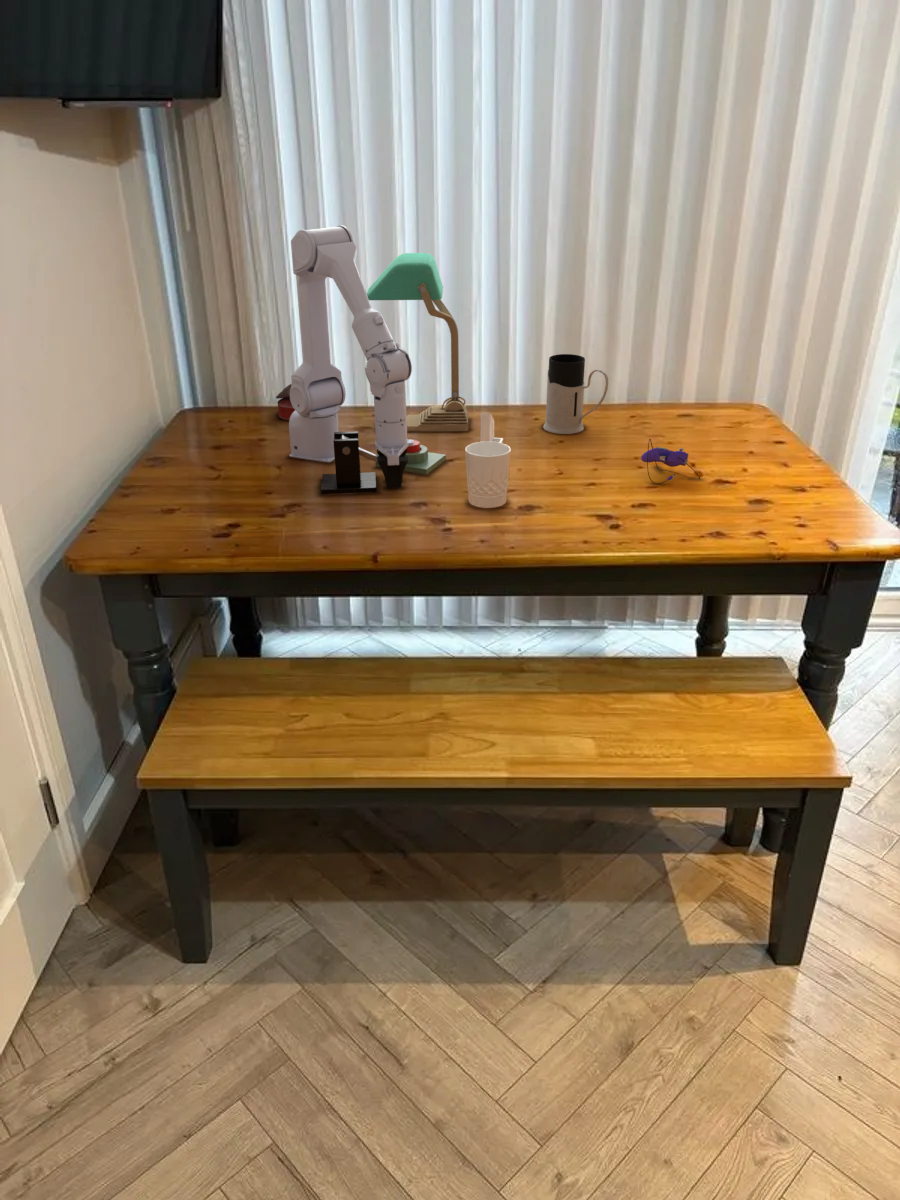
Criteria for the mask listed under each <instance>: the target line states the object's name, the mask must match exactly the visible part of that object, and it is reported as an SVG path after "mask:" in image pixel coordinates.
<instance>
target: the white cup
mask: <svg viewBox="0 0 900 1200" xmlns="http://www.w3.org/2000/svg"><path fill="white" fill-rule="evenodd" d="M511 449H512V447H510V446H509V445H508V444H506V443H504V442H503V443H499V442H491V441H484V442H480V441H476V442H472V443H470V444H468V445H466V446H465V448H464V450H465V451H464V452H465V454H464V455H465V472H466V474H465V475H466V486H467V497H468V498H467V500H468V503H469V504H470V505H471V506H474V507H477V508H483V509H489V508H490V509H492V508H497V507H502V506H504V505H505V504H506V503H507V496H508V495H507V493H508V489H509V481H510V465H511V453H512V450H511Z"/></svg>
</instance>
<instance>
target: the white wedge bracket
mask: <svg viewBox="0 0 900 1200" xmlns="http://www.w3.org/2000/svg"><path fill="white" fill-rule="evenodd" d="M479 422H480V427H479V428H480V429H479V430H480V431H479V433H480V437H479V440H480V441H479V442H484V441H491V442H499V443H503V444H504V438H503V437H495V419H494V417H493V415H492V414H491V412H488V411H487V412H486V411H481V412H480V421H479Z"/></svg>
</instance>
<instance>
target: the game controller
mask: <svg viewBox="0 0 900 1200" xmlns="http://www.w3.org/2000/svg"><path fill="white" fill-rule="evenodd" d="M650 445H651V449H649V448H650ZM647 446H648V447H647V451H645V452H643V453H642V455H641V456H640V460H641V461H642V463H646V468H647V470H649V463H655V466H656V468H657V469H658V470H659V471H664V472H670V473H675V474H678V475H679V476H680V475H681V476H683V477H686V478H690V479H692V480H693V479H694V480H695V478H694V477H690V476H687V475H684V474H681V473H678V472H675V471H671V470H667V469H660V468H659V467H658V464H657V463H662V464H664V465H666V466H667V467H670V468H674V467H678V466H683V467H685V466H686V465H687V466H688V467H689V468H690V469H691V470H692V471H693V472H694V473H695V474H696V475H697V476H698V480H700V479H701V478H700V475H699V474H698V473H697V471H696V470H694V468H693V467H692V466H690V465H689V464H688V462H689V460H688V458H689V453H688V452H686V451H684V450H685V449H684V448H683V447H679V448H678V450H676V451H674V450H670V449H669V448H666V447H660V446H659V447H658V446H656V447H653V444H652V439H651V438H649V439H648V443H647ZM675 474H673V475H670V476H669V477H667V479H666V480H664V481H662V482H658V483H656V482H654V481H653V480H652V479H651V477H650V472H649V471H647V475H648V478H649V480H650V482H652V483H653V484H655V485H660V484H664V483H666V482H670V481H672V480H673V479H674V478H675V477H676V475H675Z"/></svg>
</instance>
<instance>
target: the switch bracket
mask: <svg viewBox="0 0 900 1200" xmlns="http://www.w3.org/2000/svg"><path fill="white" fill-rule="evenodd" d="M342 435H344V436H346V437H348V438H350V439H341V436H342ZM359 441H360V439H359V430H358V431H339V432H334V441H333V442H334V456H335V460H334V469H335V473H323V474H322V476H321V485H320V495H336V494H361V493H363V494H364V493H377V475H376V473H377V472H375V471H371V472H370V471H369V472H361V455H359V448H360V442H359Z"/></svg>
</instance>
